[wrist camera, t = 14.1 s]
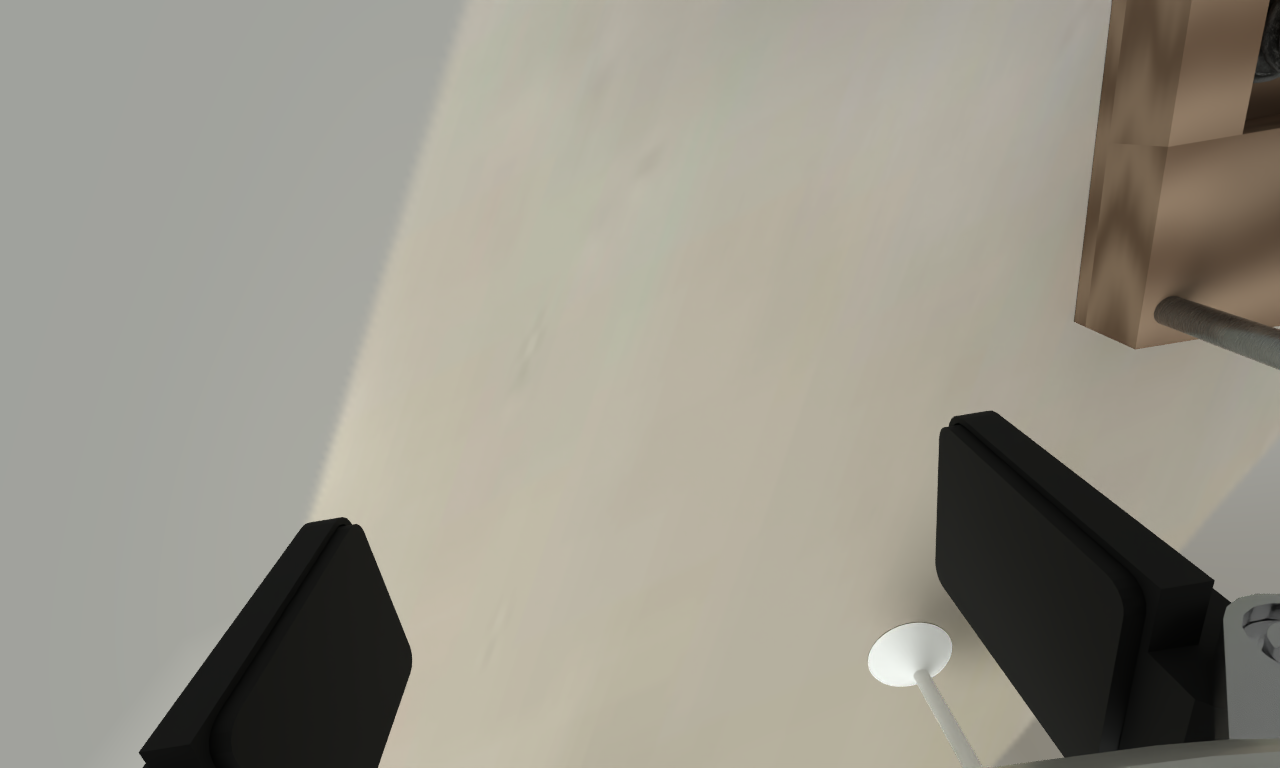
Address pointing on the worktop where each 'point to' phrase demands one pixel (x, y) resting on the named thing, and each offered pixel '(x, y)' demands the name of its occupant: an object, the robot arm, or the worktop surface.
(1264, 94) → the socket board
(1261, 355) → the grey metal arch
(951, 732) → the champagne flute
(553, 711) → the worktop surface
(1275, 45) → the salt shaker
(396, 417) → the worktop surface
